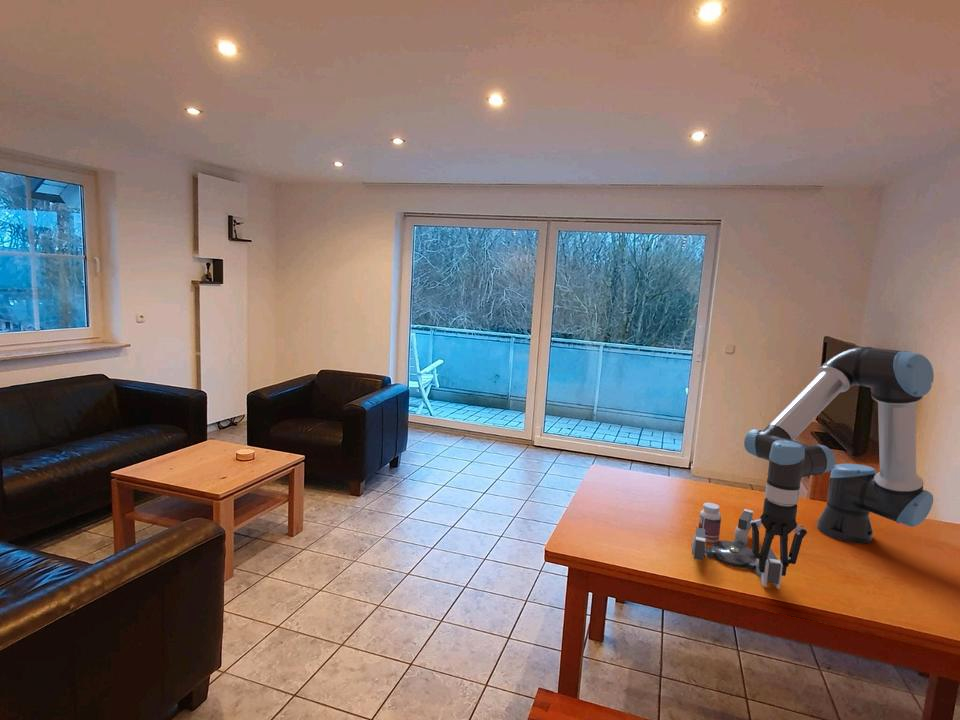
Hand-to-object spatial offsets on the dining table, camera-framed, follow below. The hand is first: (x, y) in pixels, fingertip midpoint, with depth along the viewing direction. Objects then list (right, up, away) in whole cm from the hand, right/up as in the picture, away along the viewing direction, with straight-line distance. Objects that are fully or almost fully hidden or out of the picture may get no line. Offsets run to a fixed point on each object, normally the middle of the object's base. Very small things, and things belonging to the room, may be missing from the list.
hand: (770, 584), depth 142 cm
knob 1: (+6, +3, +27) cm, 28 cm away
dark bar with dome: (-14, +2, +14) cm, 19 cm away
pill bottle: (-5, +3, +27) cm, 27 cm away
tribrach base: (-2, +1, +16) cm, 16 cm away
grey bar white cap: (+1, -1, +3) cm, 4 cm away
